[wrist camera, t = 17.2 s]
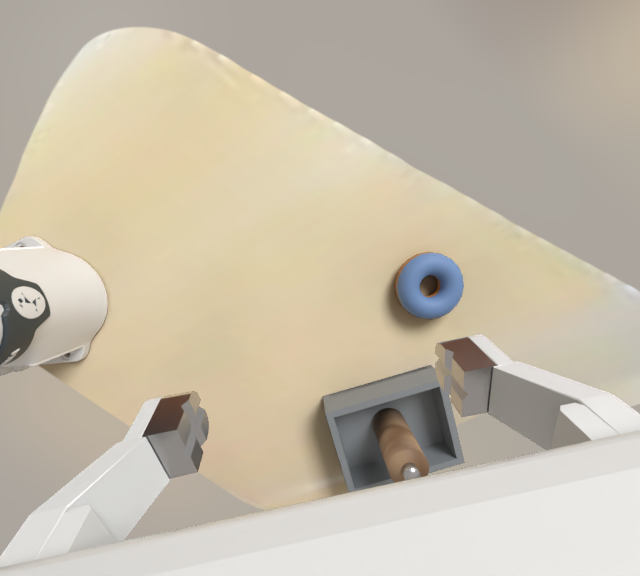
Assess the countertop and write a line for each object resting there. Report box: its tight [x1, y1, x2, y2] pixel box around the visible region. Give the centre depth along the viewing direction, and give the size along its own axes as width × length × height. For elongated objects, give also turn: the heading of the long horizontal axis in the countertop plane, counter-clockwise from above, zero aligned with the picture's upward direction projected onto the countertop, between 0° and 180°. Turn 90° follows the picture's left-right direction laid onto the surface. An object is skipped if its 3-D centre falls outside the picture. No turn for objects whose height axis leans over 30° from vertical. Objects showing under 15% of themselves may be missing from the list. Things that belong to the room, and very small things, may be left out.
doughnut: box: [395, 252, 464, 319], centre depth 45 cm, size 10×10×5 cm
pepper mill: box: [372, 408, 429, 483], centre depth 43 cm, size 5×5×11 cm
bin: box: [323, 365, 464, 492], centre depth 47 cm, size 18×14×5 cm
